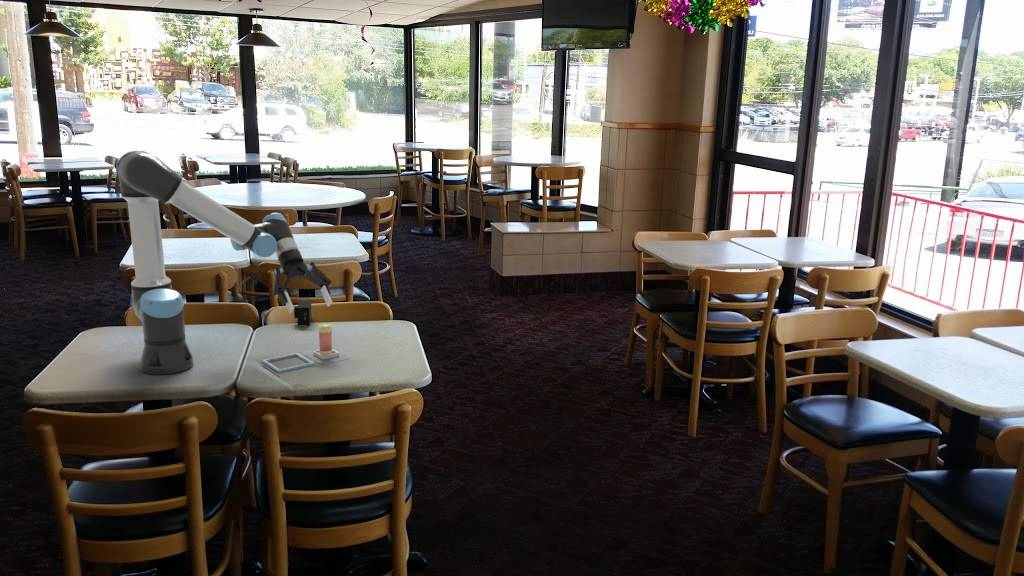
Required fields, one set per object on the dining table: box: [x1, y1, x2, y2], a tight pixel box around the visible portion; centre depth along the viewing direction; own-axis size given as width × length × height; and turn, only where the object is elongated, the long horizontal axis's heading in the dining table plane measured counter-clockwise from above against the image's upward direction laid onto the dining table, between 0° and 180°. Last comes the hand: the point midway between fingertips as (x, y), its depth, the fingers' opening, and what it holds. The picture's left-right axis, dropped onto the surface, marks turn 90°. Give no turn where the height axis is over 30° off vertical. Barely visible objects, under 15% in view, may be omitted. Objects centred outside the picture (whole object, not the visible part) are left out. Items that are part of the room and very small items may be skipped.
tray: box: [261, 352, 315, 378], centre depth 246 cm, size 12×12×2 cm
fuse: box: [318, 323, 334, 355], centre depth 253 cm, size 4×4×10 cm
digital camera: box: [293, 299, 313, 327], centre depth 293 cm, size 10×5×7 cm, turn 10°
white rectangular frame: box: [301, 347, 351, 365], centre depth 254 cm, size 10×14×3 cm
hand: (311, 307), depth 258 cm, fingers open, 13 cm apart
